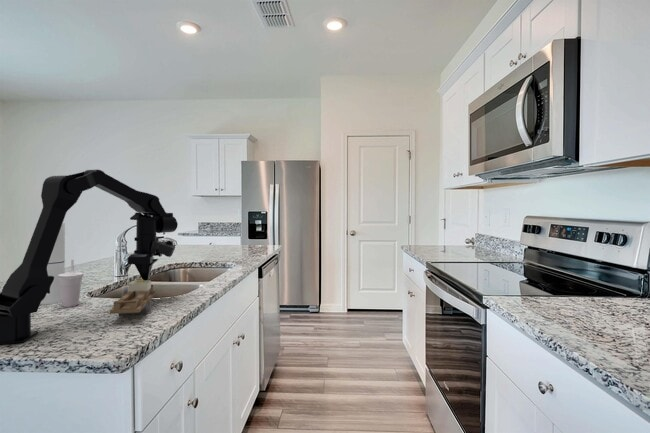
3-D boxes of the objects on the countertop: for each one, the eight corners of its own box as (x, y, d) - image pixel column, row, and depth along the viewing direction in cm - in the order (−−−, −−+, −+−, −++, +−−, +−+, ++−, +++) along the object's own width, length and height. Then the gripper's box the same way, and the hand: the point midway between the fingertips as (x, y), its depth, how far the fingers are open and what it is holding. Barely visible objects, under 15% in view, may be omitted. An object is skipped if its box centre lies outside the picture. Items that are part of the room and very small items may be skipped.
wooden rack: (139, 323, 91) (139, 301, 91) (109, 325, 89) (109, 302, 89) (156, 303, 110) (156, 284, 110) (131, 304, 109) (132, 285, 108)
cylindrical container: (31, 305, 106) (31, 223, 105) (43, 298, 112) (43, 222, 112) (58, 303, 107) (58, 223, 107) (68, 297, 114) (68, 222, 114)
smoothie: (69, 309, 102) (69, 262, 102) (52, 307, 104) (52, 261, 103) (88, 303, 109) (88, 259, 108) (71, 301, 110) (71, 258, 110)
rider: (147, 296, 103) (147, 280, 103) (128, 296, 102) (128, 280, 102) (150, 292, 107) (151, 277, 107) (132, 293, 106) (132, 278, 106)
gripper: (168, 236, 104) (167, 287, 105) (177, 232, 122) (177, 275, 123) (127, 236, 101) (126, 289, 102) (143, 231, 119) (142, 276, 120)
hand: (145, 282), depth 112 cm, fingers closed
